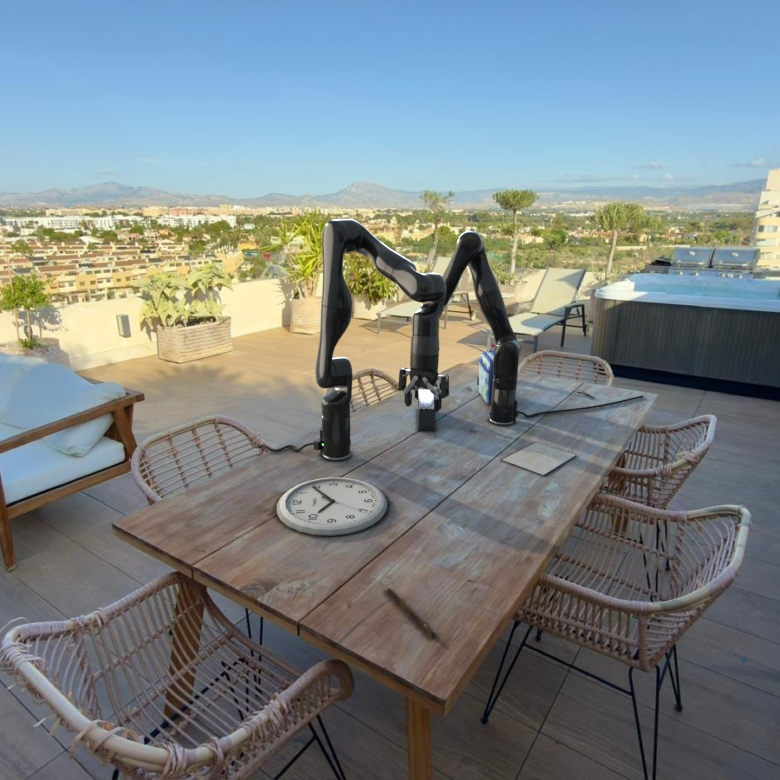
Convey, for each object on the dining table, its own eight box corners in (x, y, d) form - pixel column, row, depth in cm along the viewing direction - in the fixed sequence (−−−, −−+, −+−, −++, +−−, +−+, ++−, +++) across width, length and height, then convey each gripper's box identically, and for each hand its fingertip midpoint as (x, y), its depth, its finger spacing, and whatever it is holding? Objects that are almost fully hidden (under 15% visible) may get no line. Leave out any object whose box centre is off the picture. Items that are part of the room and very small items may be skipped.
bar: (417, 410, 219) (418, 389, 216) (432, 411, 219) (433, 390, 216) (418, 431, 196) (419, 408, 193) (434, 432, 196) (435, 409, 193)
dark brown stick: (387, 592, 109) (387, 587, 109) (388, 591, 109) (388, 587, 109) (431, 637, 97) (431, 633, 97) (433, 636, 97) (433, 632, 97)
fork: (592, 399, 235) (592, 395, 235) (571, 389, 250) (572, 385, 249) (597, 399, 236) (597, 394, 235) (576, 388, 251) (576, 384, 250)
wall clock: (392, 527, 129) (268, 531, 127) (391, 533, 130) (269, 537, 127) (383, 473, 158) (282, 475, 155) (383, 478, 158) (282, 480, 156)
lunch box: (475, 390, 246) (478, 346, 240) (498, 390, 246) (501, 347, 240) (484, 408, 221) (487, 360, 215) (509, 409, 221) (513, 360, 215)
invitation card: (535, 442, 186) (575, 454, 176) (535, 442, 187) (575, 455, 176) (502, 459, 172) (543, 474, 162) (502, 460, 172) (543, 475, 162)
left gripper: (394, 349, 138) (393, 407, 143) (443, 357, 131) (440, 417, 136) (407, 344, 144) (406, 400, 149) (455, 351, 138) (452, 409, 142)
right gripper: (409, 361, 205) (408, 401, 210) (446, 362, 204) (444, 402, 209) (409, 356, 212) (408, 396, 217) (445, 357, 211) (443, 397, 216)
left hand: (422, 408), depth 143 cm, fingers open, 8 cm apart
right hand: (425, 399), depth 213 cm, fingers open, 6 cm apart
